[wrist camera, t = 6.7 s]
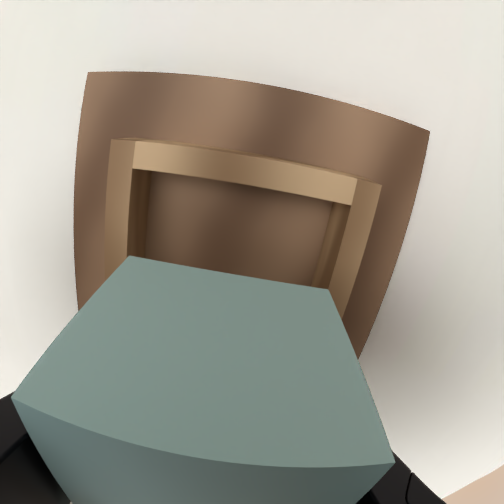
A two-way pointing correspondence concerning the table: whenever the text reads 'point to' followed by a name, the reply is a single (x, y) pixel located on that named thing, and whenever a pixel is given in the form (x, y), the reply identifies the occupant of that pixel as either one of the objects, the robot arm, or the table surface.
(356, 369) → the block
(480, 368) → the table surface
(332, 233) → the board
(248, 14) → the table surface
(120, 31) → the table surface
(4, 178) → the table surface
